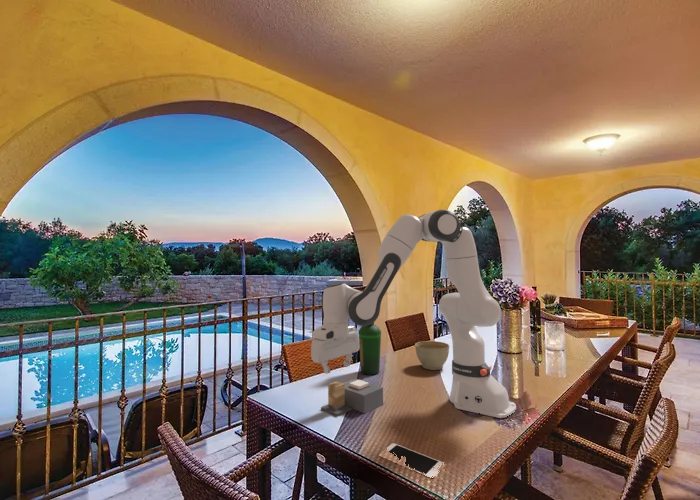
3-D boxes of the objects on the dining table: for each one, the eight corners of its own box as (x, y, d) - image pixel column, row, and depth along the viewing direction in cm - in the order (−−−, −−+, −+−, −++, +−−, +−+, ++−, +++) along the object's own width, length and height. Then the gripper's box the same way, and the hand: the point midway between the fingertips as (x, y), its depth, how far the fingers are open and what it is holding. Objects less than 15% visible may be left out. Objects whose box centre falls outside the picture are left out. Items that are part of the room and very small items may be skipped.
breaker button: (369, 396, 126) (368, 382, 126) (359, 400, 123) (359, 386, 123) (358, 393, 130) (358, 379, 130) (349, 397, 126) (349, 383, 126)
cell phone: (432, 481, 82) (432, 478, 82) (377, 457, 92) (377, 454, 92) (447, 466, 88) (447, 463, 88) (393, 444, 98) (393, 442, 98)
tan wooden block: (344, 407, 121) (344, 384, 121) (336, 411, 118) (336, 387, 118) (336, 404, 124) (336, 381, 124) (328, 407, 121) (328, 384, 121)
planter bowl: (446, 362, 175) (446, 340, 175) (452, 373, 159) (452, 349, 159) (413, 362, 176) (413, 340, 177) (416, 372, 160) (416, 348, 161)
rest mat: (351, 410, 120) (351, 407, 120) (337, 416, 115) (337, 414, 115) (335, 403, 126) (335, 401, 126) (321, 409, 121) (321, 407, 121)
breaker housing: (383, 404, 125) (382, 387, 125) (364, 413, 118) (364, 395, 118) (354, 394, 135) (354, 378, 135) (335, 402, 127) (335, 385, 128)
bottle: (369, 367, 168) (368, 309, 169) (386, 372, 161) (385, 311, 162) (353, 372, 161) (353, 311, 162) (370, 377, 153) (370, 313, 154)
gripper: (350, 324, 131) (351, 360, 131) (307, 333, 117) (308, 375, 116) (362, 326, 127) (364, 364, 127) (320, 336, 112) (321, 379, 112)
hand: (337, 369), depth 121 cm, fingers open, 8 cm apart
